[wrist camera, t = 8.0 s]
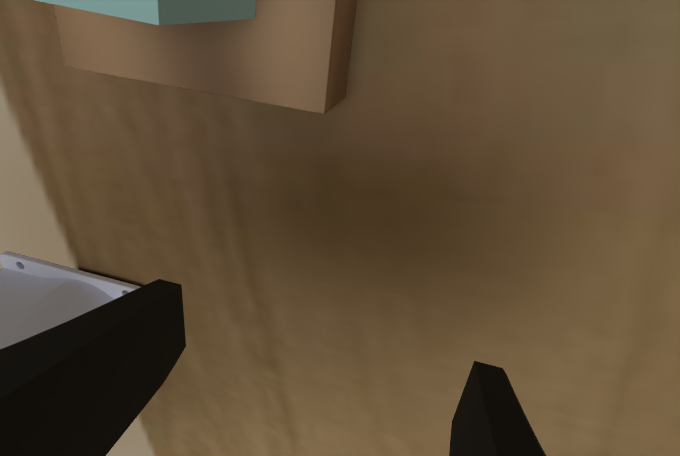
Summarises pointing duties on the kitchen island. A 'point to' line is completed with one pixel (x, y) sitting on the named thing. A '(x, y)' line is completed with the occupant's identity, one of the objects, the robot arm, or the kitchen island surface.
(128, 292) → the robot arm
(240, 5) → the teal cube
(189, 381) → the kitchen island surface
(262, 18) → the walnut block
